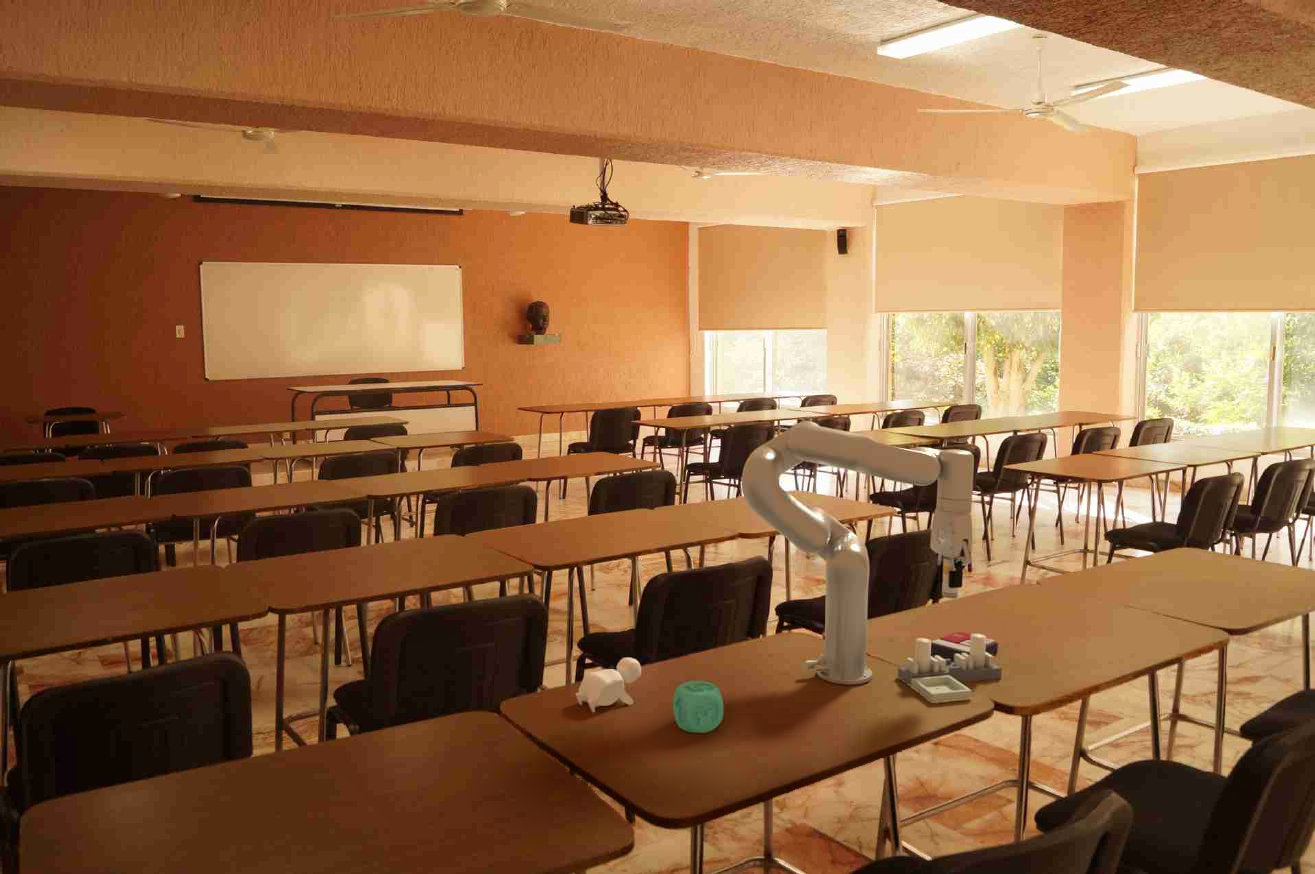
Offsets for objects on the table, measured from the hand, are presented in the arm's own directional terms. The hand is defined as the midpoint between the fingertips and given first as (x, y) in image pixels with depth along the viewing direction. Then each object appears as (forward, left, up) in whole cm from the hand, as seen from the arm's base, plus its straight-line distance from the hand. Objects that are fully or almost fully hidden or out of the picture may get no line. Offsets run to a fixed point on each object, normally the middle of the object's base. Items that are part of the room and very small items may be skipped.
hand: (949, 584), depth 220 cm
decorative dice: (-62, -10, -23) cm, 67 cm away
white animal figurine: (-77, +7, -23) cm, 80 cm away
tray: (-5, -6, -23) cm, 24 cm away
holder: (+2, +2, -23) cm, 23 cm away
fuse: (0, 0, -3) cm, 3 cm away
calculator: (+14, +16, -24) cm, 32 cm away
